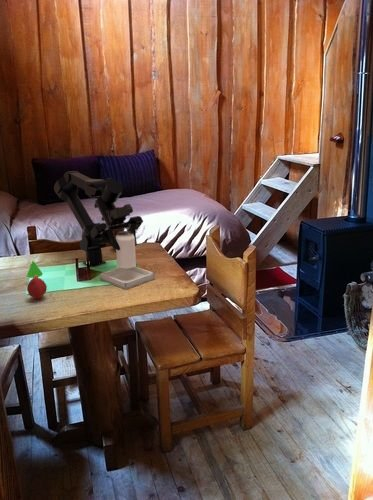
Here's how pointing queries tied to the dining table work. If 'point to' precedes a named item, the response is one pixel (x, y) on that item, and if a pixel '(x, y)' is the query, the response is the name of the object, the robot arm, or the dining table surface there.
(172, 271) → the dining table surface
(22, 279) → the dining table surface
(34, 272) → the green pyramid
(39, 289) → the red rounded piece
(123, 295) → the dining table surface
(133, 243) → the can
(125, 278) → the tray
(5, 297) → the dining table surface
